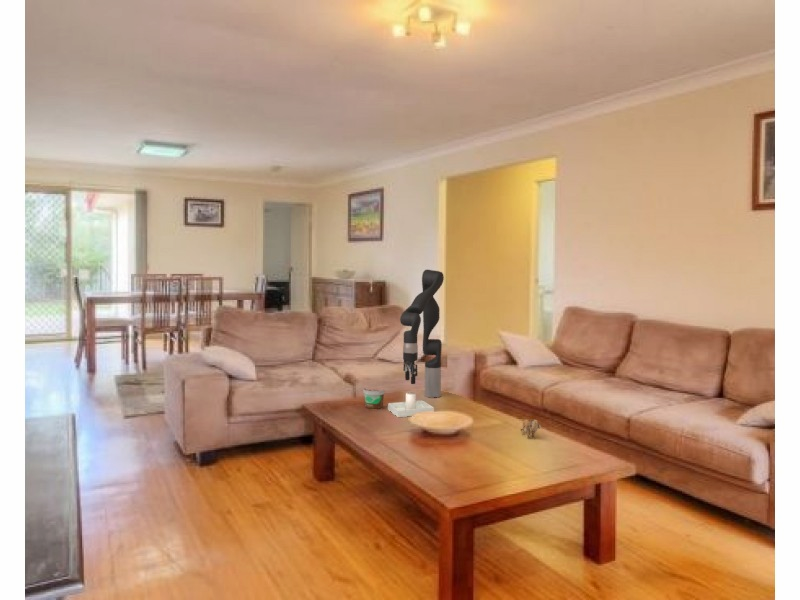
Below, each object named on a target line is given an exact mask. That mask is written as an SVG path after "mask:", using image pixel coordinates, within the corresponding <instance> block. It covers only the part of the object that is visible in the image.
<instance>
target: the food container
mask: <svg viewBox="0 0 800 600" xmlns="http://www.w3.org/2000/svg"><path fill="white" fill-rule="evenodd" d="M362 394H363V395H364V402H365V403H364V405H365V408H366V410H370V409H377V410H381V408H382V409H383V408H384V407H383V405H384V399H385V398H384V397H385V394H386V391H385V389H382V390H377V389H366V387H364V388H363V390H362Z"/></svg>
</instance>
